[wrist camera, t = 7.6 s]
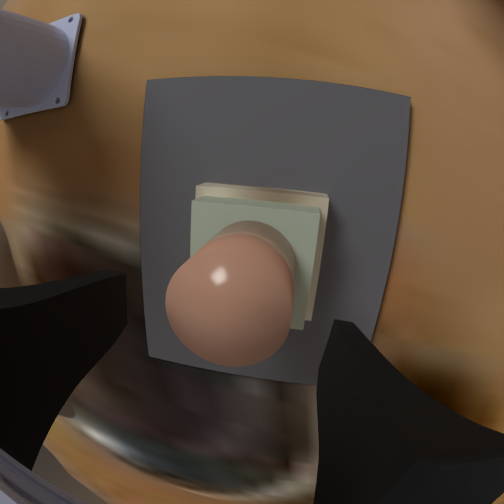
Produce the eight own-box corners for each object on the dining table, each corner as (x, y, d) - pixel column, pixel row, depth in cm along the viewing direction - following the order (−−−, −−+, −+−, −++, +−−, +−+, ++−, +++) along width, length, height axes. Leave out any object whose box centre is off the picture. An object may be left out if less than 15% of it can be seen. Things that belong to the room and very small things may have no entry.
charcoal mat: (152, 352, 24) (148, 356, 23) (151, 81, 18) (147, 80, 17) (355, 383, 22) (355, 388, 21) (407, 98, 16) (410, 97, 15)
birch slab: (203, 290, 21) (193, 304, 19) (206, 182, 19) (195, 185, 17) (311, 305, 20) (311, 320, 18) (326, 194, 18) (329, 198, 16)
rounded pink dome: (202, 297, 16) (165, 350, 12) (210, 213, 15) (167, 240, 10) (287, 314, 16) (278, 377, 11) (304, 229, 14) (303, 265, 10)
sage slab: (201, 298, 19) (190, 313, 17) (204, 195, 17) (191, 200, 15) (303, 312, 18) (303, 330, 16) (318, 206, 16) (320, 213, 14)
